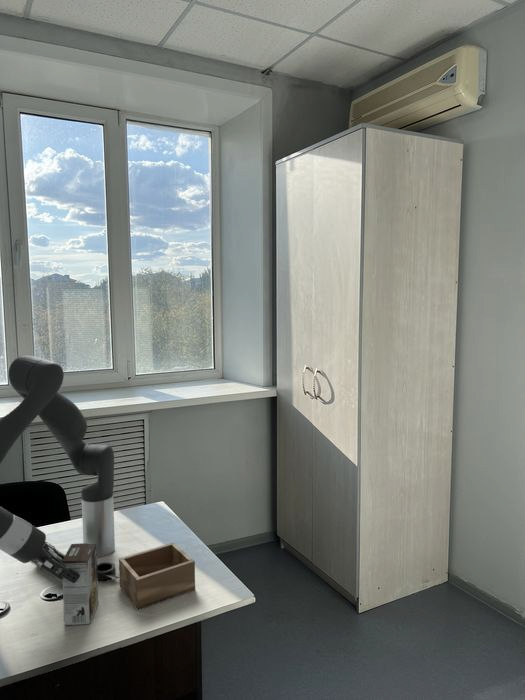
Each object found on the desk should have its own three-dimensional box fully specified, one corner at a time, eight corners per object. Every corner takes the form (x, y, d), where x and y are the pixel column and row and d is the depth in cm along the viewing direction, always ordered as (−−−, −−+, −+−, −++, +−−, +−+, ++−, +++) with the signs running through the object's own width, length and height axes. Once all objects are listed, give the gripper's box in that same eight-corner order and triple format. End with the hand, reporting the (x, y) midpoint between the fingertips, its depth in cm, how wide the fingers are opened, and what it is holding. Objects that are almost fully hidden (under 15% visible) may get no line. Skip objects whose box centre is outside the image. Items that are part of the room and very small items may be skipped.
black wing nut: (91, 589, 141) (91, 578, 141) (89, 571, 150) (89, 561, 150) (120, 583, 144) (120, 573, 143) (117, 566, 153) (116, 556, 153)
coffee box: (73, 604, 134) (71, 543, 132) (99, 602, 134) (97, 542, 133) (62, 625, 125) (60, 560, 123) (90, 624, 125) (88, 559, 124)
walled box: (119, 586, 142) (118, 558, 141) (174, 569, 151) (173, 542, 150) (138, 610, 131) (137, 580, 130) (195, 589, 140) (194, 561, 139)
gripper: (37, 535, 115) (91, 570, 122) (24, 513, 127) (75, 546, 134) (12, 565, 112) (69, 599, 120) (1, 540, 124) (54, 572, 132)
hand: (72, 571), depth 127 cm, fingers closed on coffee box, 8 cm apart
